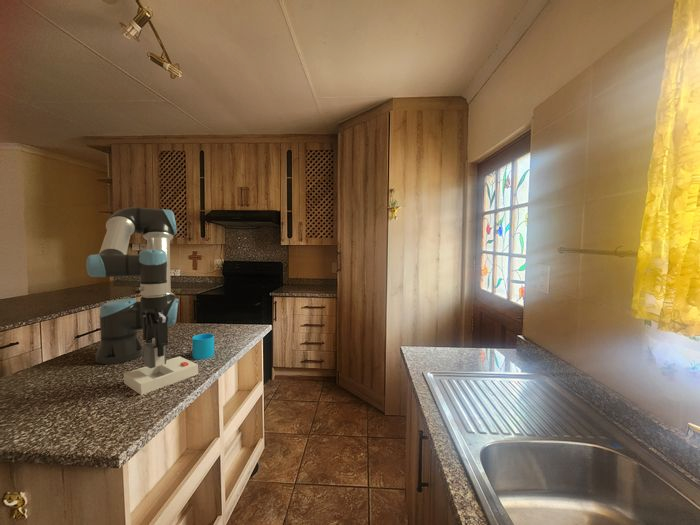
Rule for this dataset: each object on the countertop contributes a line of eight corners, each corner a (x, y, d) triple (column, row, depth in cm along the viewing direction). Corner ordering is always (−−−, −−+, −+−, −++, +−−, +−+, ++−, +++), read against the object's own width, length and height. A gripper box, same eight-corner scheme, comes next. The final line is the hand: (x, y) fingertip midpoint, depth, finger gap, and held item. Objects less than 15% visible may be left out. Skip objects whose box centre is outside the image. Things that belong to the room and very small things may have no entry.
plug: (159, 360, 102) (159, 335, 102) (166, 363, 100) (165, 337, 99) (143, 364, 98) (143, 338, 98) (150, 368, 96) (150, 341, 95)
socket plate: (124, 383, 98) (123, 371, 97) (179, 365, 113) (179, 354, 112) (141, 395, 91) (141, 382, 90) (198, 374, 106) (198, 362, 105)
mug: (210, 359, 119) (210, 339, 118) (189, 359, 118) (189, 340, 117) (219, 348, 131) (219, 330, 130) (200, 348, 130) (200, 330, 129)
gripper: (129, 294, 100) (131, 360, 101) (154, 300, 90) (156, 374, 91) (154, 291, 106) (155, 354, 107) (179, 297, 96) (180, 365, 98)
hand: (155, 363), depth 99 cm, fingers closed on plug, 5 cm apart
